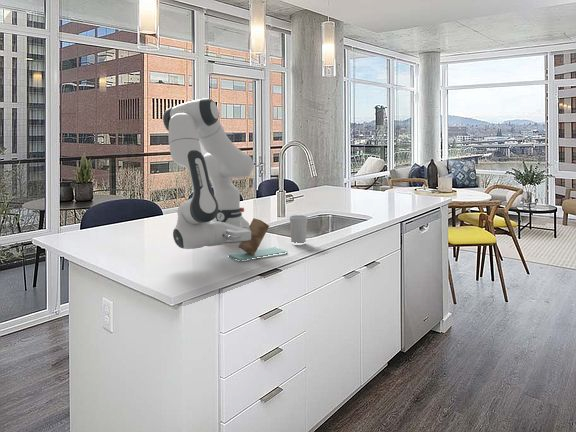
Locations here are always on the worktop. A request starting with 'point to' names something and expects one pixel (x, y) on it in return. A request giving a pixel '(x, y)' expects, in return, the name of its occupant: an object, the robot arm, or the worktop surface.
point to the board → (258, 253)
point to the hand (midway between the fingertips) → (248, 229)
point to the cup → (298, 228)
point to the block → (254, 236)
